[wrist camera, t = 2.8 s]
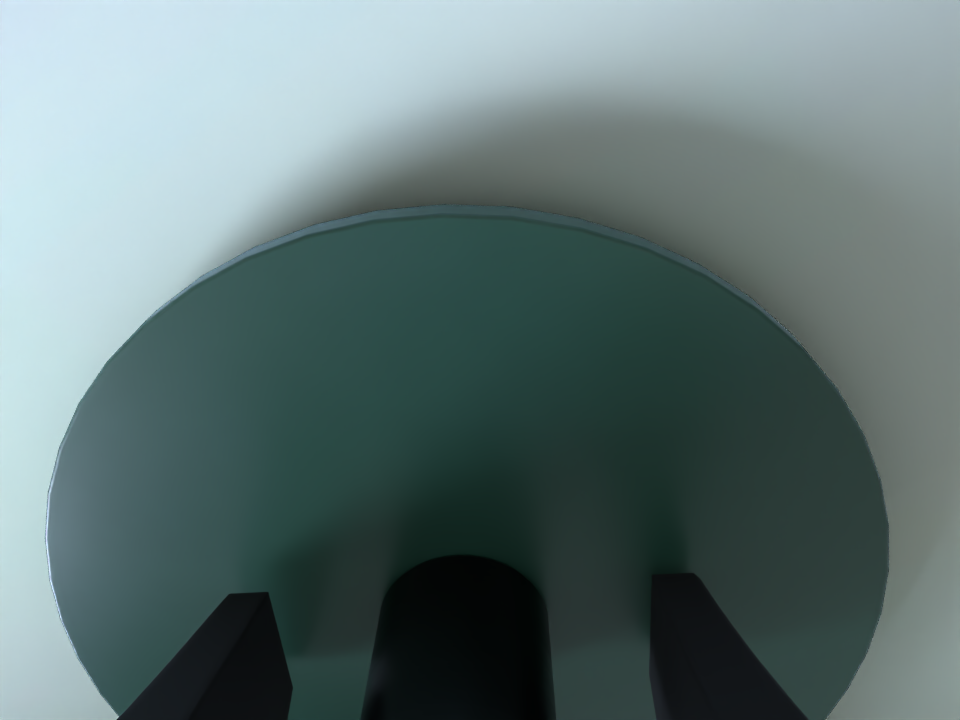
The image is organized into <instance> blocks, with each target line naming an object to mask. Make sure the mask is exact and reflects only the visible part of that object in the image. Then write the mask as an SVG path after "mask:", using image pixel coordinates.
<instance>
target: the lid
mask: <svg viewBox="0 0 960 720" xmlns="http://www.w3.org/2000/svg"><path fill="white" fill-rule="evenodd" d="M45 542H46V551H47V560H48V570H49V579H50V583H51V587H52V591H53V594H54V598H55V601H56V605H57V608H58V612H59V616H60V619H61V622H62V624H63V627H64V629H65V631H66V633H67V635H68V638H69V640H70V642H71V644H72V646H73V649H74V651H75V653H76V655H77V658H78V660H79V661H80V663H81V664H82V666H83V667H84V669H85V671H86V672H87V674H88V675H89V677H90V678H91V680H92V682H93V683H94V685H95V686H96V688H97V690H98V691H99V693H100V694H101V695H102V697H103V698H104V699H105V700H106V702H107V703H108V704H109V705H110V706H111V708H112V709H113V710H114V711H115V712H116V714H117V715H118V716H119V717H120V716H121V714H122V713H123V712H124V711H125V710H126V709H127V708H128V707H129V706H130V705H131V704H132V703H133V701H134V700H135V699H136V698H137V697H138V696H139V695H140V694H141V693H142V691H143V690H144V689H145V688H146V687H147V686H148V685H149V684H150V683H151V682H152V680H153V679H154V678H155V677H156V676H157V675H158V674H159V673H160V672H161V671H162V669H163V668H164V667H165V666H166V665H167V664H168V663H169V661H170V660H171V659H172V658H173V657H174V656H175V655H176V653H177V652H178V651H179V650H180V649H181V648H182V647H183V645H184V644H185V643H186V642H187V641H188V640H189V638H190V637H191V636H192V635H193V634H194V633H195V632H196V630H197V629H198V628H199V627H200V626H201V625H202V623H203V622H204V621H205V620H206V619H207V618H208V617H209V615H210V614H211V613H212V612H213V611H214V610H215V609H216V607H217V606H218V605H219V604H220V603H221V602H222V601H223V600H224V599H225V598H226V596H227V595H228V594H230V593H253V592H269V596H270V600H271V604H272V608H273V612H274V616H275V619H276V623H277V627H278V631H279V635H280V639H281V643H282V647H283V650H284V654H285V658H286V662H287V666H288V670H289V674H290V678H291V681H292V685H293V691H292V697H291V703H290V708H289V714H288V720H657V719H656V713H655V708H654V701H653V695H652V689H651V683H650V677H649V655H650V621H651V587H652V575H654V574H677V573H695V574H696V575H697V576H698V577H699V578H700V579H701V580H702V582H703V583H704V585H705V586H706V588H707V589H708V591H709V592H710V594H711V595H712V597H713V598H714V600H715V601H716V603H717V604H718V605H719V607H720V608H721V610H722V611H723V613H724V614H725V615H726V617H727V618H728V620H729V621H730V622H731V624H732V625H733V626H734V628H735V629H736V630H737V632H738V633H739V634H740V636H741V637H742V638H743V640H744V641H745V642H746V644H747V645H748V646H749V648H750V649H751V650H752V652H753V653H754V654H755V655H756V657H757V658H758V659H759V661H760V662H761V663H762V664H763V665H764V667H765V668H766V669H767V670H768V672H769V673H770V674H771V675H772V676H773V678H774V679H775V680H776V681H777V683H778V684H779V685H780V686H781V687H782V689H783V690H784V691H785V692H786V693H787V695H788V696H789V697H790V698H791V699H792V701H793V702H794V703H795V704H796V705H797V706H798V708H799V709H800V710H801V711H802V712H803V713H804V714H805V716H806V717H807V718H808V719H809V720H825V719H826V718H827V717H828V715H829V714H830V713H831V711H832V710H833V708H834V707H835V706H836V704H837V703H838V702H839V700H840V699H841V698H842V696H843V695H844V694H845V692H846V691H847V689H848V688H849V686H850V684H851V682H852V680H853V678H854V676H855V675H856V673H857V671H858V669H859V667H860V665H861V663H862V662H863V660H864V658H865V656H866V654H867V652H868V649H869V646H870V643H871V641H872V638H873V635H874V632H875V629H876V626H877V624H878V621H879V618H880V615H881V612H882V606H883V600H884V594H885V589H886V583H887V577H888V572H889V524H888V518H887V513H886V507H885V502H884V496H883V490H882V485H881V479H880V477H879V474H878V471H877V468H876V466H875V463H874V460H873V458H872V455H871V452H870V449H869V447H868V444H867V441H866V439H865V436H864V433H863V432H862V430H861V428H860V427H859V425H858V423H857V421H856V420H855V418H854V416H853V415H852V413H851V411H850V409H849V408H848V406H847V404H846V402H845V401H844V399H843V397H842V396H841V394H840V392H839V390H838V389H837V388H836V386H835V385H834V384H833V383H832V382H831V380H830V379H829V378H828V377H827V376H826V374H825V373H824V372H823V371H822V370H821V368H820V367H819V366H818V365H817V364H816V362H815V361H814V360H813V359H812V358H811V356H810V355H809V354H808V353H807V351H806V350H805V349H804V348H803V347H802V345H801V344H800V343H799V342H798V341H797V339H796V338H795V337H794V336H793V335H792V334H791V333H790V332H789V331H788V330H787V329H786V328H784V327H783V326H782V325H781V324H780V323H779V322H778V321H776V320H775V319H774V318H773V317H772V316H771V315H770V314H769V313H767V312H766V311H765V310H764V309H763V308H762V307H761V306H759V305H758V304H757V303H756V302H755V301H754V300H753V299H751V298H750V297H749V296H747V295H746V294H744V293H743V292H741V291H740V290H738V289H737V288H735V287H734V286H732V285H730V284H729V283H727V282H726V281H724V280H723V279H721V278H720V277H718V276H717V275H715V274H713V273H712V272H710V271H709V270H707V269H706V268H704V267H703V266H701V265H700V264H698V263H695V262H693V261H691V260H689V259H687V258H685V257H683V256H680V255H678V254H676V253H674V252H672V251H670V250H667V249H665V248H663V247H661V246H659V245H657V244H654V243H652V242H650V241H648V240H646V239H644V238H641V237H638V236H635V235H632V234H629V233H625V232H622V231H619V230H615V229H612V228H609V227H606V226H602V225H599V224H596V223H593V222H589V221H586V220H583V219H580V218H575V217H569V216H563V215H557V214H551V213H545V212H539V211H533V210H527V209H522V208H516V207H502V206H476V205H449V204H442V205H431V206H420V207H409V208H398V209H387V210H377V211H373V212H368V213H364V214H359V215H355V216H351V217H346V218H342V219H337V220H333V221H329V222H324V223H320V224H315V225H312V226H309V227H307V228H304V229H301V230H299V231H296V232H293V233H291V234H288V235H285V236H283V237H280V238H277V239H275V240H272V241H269V242H267V243H264V244H261V245H259V246H256V247H254V248H252V249H250V250H248V251H246V252H244V253H243V254H241V255H239V256H237V257H235V258H234V259H232V260H230V261H228V262H226V263H224V264H223V265H221V266H219V267H217V268H215V269H213V270H212V271H210V272H208V273H206V274H204V275H202V276H201V277H200V278H198V279H197V280H196V281H194V282H193V283H192V284H190V285H189V286H188V287H186V288H185V289H184V290H183V291H181V292H180V293H179V294H177V295H176V296H175V297H173V298H172V299H171V300H169V301H168V302H167V303H165V304H164V305H163V306H162V307H160V308H159V309H158V310H156V311H155V312H154V313H153V314H152V315H151V316H150V317H149V318H148V319H147V320H146V321H145V322H144V323H143V324H142V325H141V326H140V327H139V328H138V329H137V331H136V332H135V333H134V334H133V335H132V336H131V337H130V338H129V339H128V340H127V341H126V342H125V343H124V344H123V345H122V346H121V347H120V348H119V349H118V350H117V351H116V353H115V354H114V355H113V356H112V357H111V358H110V359H109V360H108V361H107V362H106V364H105V365H104V367H103V368H102V370H101V371H100V373H99V374H98V376H97V377H96V379H95V380H94V382H93V383H92V385H91V386H90V388H89V389H88V390H87V392H86V393H85V395H84V396H83V398H82V399H81V401H80V402H79V404H78V406H77V408H76V411H75V413H74V415H73V417H72V420H71V422H70V424H69V426H68V429H67V431H66V433H65V435H64V438H63V440H62V442H61V444H60V447H59V450H58V454H57V458H56V462H55V466H54V470H53V474H52V478H51V482H50V486H49V490H48V500H47V516H46V531H45Z"/></svg>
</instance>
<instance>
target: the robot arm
mask: <svg viewBox="0 0 960 720" xmlns="http://www.w3.org/2000/svg"><path fill="white" fill-rule="evenodd" d="M649 677H650V683H651V689H652V695H653V701H654V708H655V713H656V719H657V720H809V719H808V718H807V717H806V716H805V714H804V713H803V712H802V711H801V710H800V709H799V708H798V706H797V705H796V704H795V703H794V702H793V701H792V699H791V698H790V697H789V696H788V695H787V693H786V692H785V691H784V690H783V689H782V687H781V686H780V685H779V684H778V683H777V681H776V680H775V679H774V678H773V676H772V675H771V674H770V673H769V672H768V670H767V669H766V668H765V667H764V665H763V664H762V663H761V662H760V661H759V659H758V658H757V657H756V655H755V654H754V653H753V652H752V650H751V649H750V648H749V646H748V645H747V644H746V642H745V641H744V640H743V638H742V637H741V636H740V634H739V633H738V632H737V630H736V629H735V628H734V626H733V625H732V624H731V622H730V621H729V620H728V618H727V617H726V615H725V614H724V613H723V611H722V610H721V608H720V607H719V605H718V604H717V603H716V601H715V600H714V598H713V597H712V595H711V594H710V592H709V591H708V589H707V588H706V586H705V585H704V583H703V582H702V580H701V579H700V578H699V577H698V576H697V575H696V574H695V573H677V574H654V575H652V587H651V621H650V655H649ZM292 691H293V685H292V681H291V678H290V674H289V670H288V666H287V662H286V658H285V654H284V650H283V647H282V643H281V639H280V635H279V631H278V627H277V623H276V619H275V616H274V612H273V608H272V604H271V600H270V596H269V592H253V593H230V594H228V595H227V596H226V598H225V599H224V600H223V601H222V602H221V603H220V604H219V605H218V606H217V607H216V609H215V610H214V611H213V612H212V613H211V614H210V615H209V617H208V618H207V619H206V620H205V621H204V622H203V623H202V625H201V626H200V627H199V628H198V629H197V630H196V632H195V633H194V634H193V635H192V636H191V637H190V638H189V640H188V641H187V642H186V643H185V644H184V645H183V647H182V648H181V649H180V650H179V651H178V652H177V653H176V655H175V656H174V657H173V658H172V659H171V660H170V661H169V663H168V664H167V665H166V666H165V667H164V668H163V669H162V671H161V672H160V673H159V674H158V675H157V676H156V677H155V678H154V679H153V680H152V682H151V683H150V684H149V685H148V686H147V687H146V688H145V689H144V690H143V691H142V693H141V694H140V695H139V696H138V697H137V698H136V699H135V700H134V701H133V703H132V704H131V705H130V706H129V707H128V708H127V709H126V710H125V711H124V712H123V713H122V714H121V716H120V717H119V718H118V719H117V720H288V714H289V708H290V703H291V697H292Z"/></svg>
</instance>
